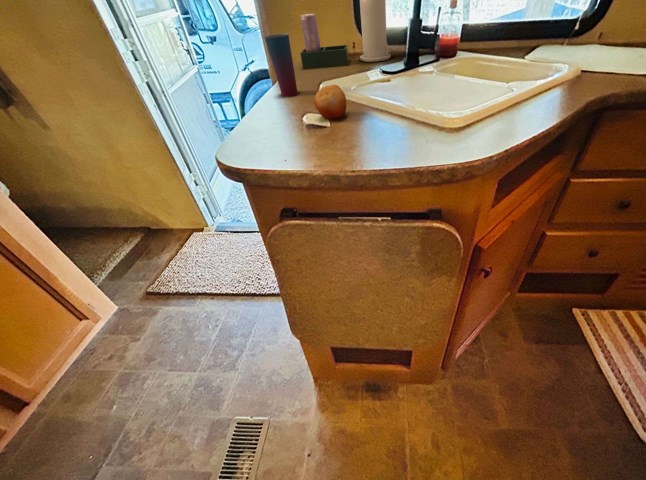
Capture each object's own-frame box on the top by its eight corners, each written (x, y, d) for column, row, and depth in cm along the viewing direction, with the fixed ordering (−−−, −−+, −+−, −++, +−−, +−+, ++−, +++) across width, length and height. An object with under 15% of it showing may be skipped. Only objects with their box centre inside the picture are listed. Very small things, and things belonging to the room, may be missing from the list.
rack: (348, 60, 130) (347, 44, 126) (347, 65, 123) (345, 49, 119) (306, 64, 130) (303, 48, 127) (303, 69, 124) (300, 53, 120)
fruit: (353, 103, 83) (345, 78, 75) (347, 129, 81) (338, 105, 74) (325, 103, 85) (314, 78, 77) (319, 128, 83) (307, 105, 76)
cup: (298, 96, 97) (285, 36, 86) (277, 98, 97) (261, 38, 87) (302, 90, 102) (290, 32, 91) (281, 91, 102) (267, 34, 92)
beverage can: (323, 60, 128) (316, 13, 118) (322, 63, 124) (314, 14, 113) (308, 61, 128) (300, 14, 118) (307, 65, 124) (298, 16, 114)
